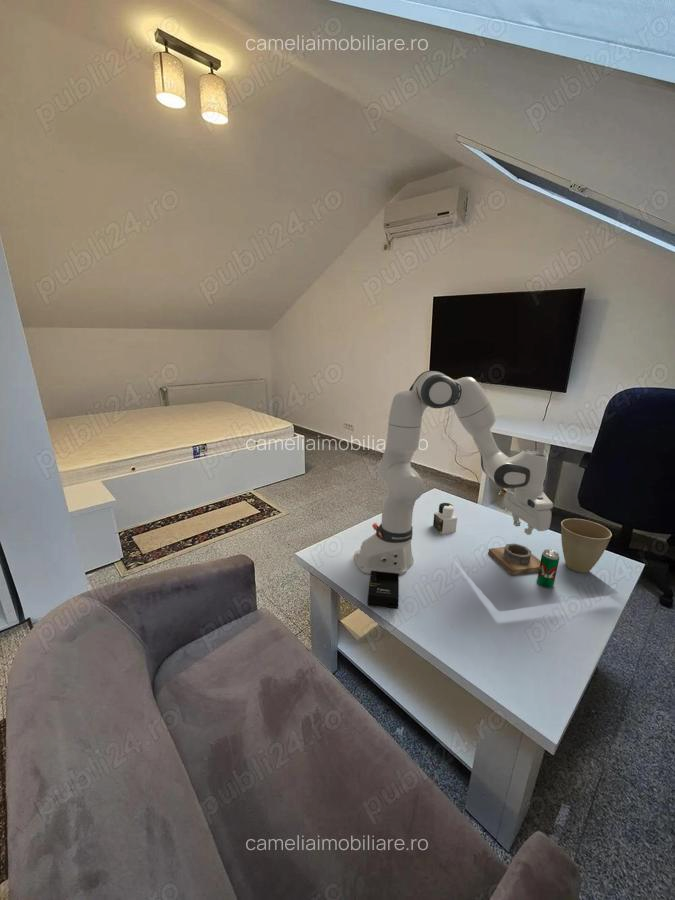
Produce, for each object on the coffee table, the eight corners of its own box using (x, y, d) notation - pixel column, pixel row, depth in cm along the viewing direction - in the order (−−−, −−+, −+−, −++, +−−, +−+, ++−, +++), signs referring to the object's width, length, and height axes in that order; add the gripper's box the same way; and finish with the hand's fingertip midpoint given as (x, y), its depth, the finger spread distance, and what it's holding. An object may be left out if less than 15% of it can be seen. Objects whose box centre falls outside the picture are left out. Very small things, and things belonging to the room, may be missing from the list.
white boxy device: (432, 527, 159) (434, 502, 156) (446, 524, 161) (448, 500, 158) (441, 534, 153) (444, 509, 149) (456, 532, 155) (458, 507, 151)
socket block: (511, 575, 127) (513, 563, 125) (488, 553, 140) (489, 541, 138) (546, 570, 129) (548, 558, 128) (520, 549, 142) (522, 538, 141)
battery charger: (398, 609, 111) (398, 598, 109) (367, 605, 112) (367, 595, 111) (398, 583, 123) (399, 573, 122) (370, 580, 124) (370, 570, 123)
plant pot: (601, 563, 133) (610, 525, 129) (602, 585, 122) (613, 543, 117) (555, 550, 141) (562, 514, 137) (552, 570, 130) (560, 530, 125)
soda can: (553, 581, 123) (559, 551, 120) (553, 590, 119) (560, 558, 116) (536, 577, 126) (542, 547, 122) (536, 585, 121) (542, 554, 118)
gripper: (501, 484, 136) (496, 517, 140) (540, 507, 116) (533, 545, 120) (516, 483, 137) (511, 515, 141) (557, 506, 118) (550, 543, 122)
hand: (522, 529), depth 131 cm, fingers open, 5 cm apart
